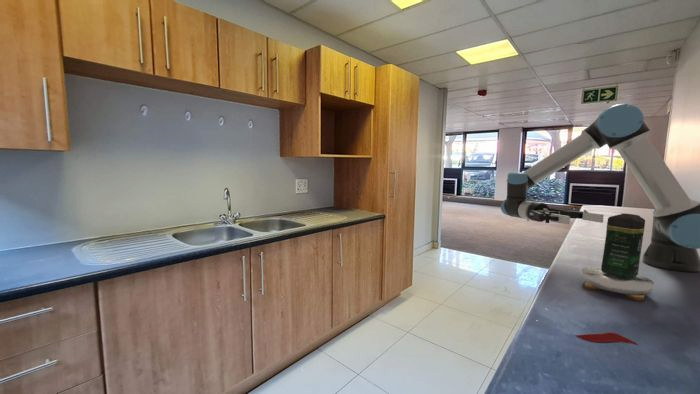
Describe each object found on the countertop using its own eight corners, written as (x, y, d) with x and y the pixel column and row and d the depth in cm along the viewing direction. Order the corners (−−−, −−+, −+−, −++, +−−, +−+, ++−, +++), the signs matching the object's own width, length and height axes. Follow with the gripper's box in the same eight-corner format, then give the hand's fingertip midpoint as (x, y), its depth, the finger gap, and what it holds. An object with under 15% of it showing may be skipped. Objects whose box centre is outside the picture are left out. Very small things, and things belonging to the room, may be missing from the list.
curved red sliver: (636, 342, 62) (637, 334, 62) (647, 355, 58) (648, 346, 58) (567, 329, 67) (568, 321, 67) (573, 339, 63) (573, 331, 63)
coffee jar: (632, 282, 83) (641, 217, 80) (597, 273, 89) (604, 213, 87) (641, 275, 88) (649, 214, 86) (607, 267, 95) (614, 210, 92)
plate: (608, 278, 97) (609, 265, 97) (668, 299, 81) (669, 284, 81) (567, 282, 94) (568, 268, 94) (621, 304, 79) (623, 288, 78)
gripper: (559, 219, 120) (615, 228, 100) (506, 221, 116) (553, 232, 95) (560, 201, 120) (616, 207, 99) (507, 203, 115) (554, 209, 94)
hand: (585, 219), depth 97 cm, fingers open, 13 cm apart
